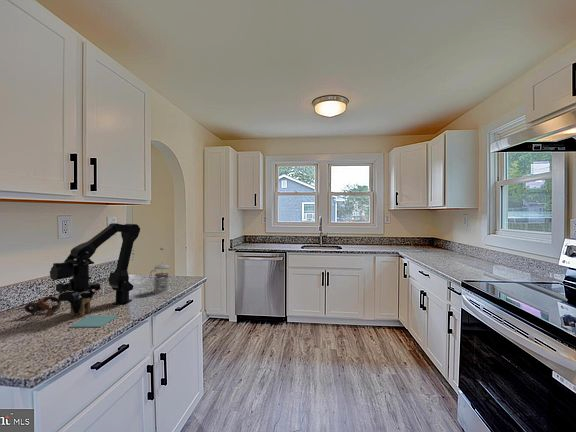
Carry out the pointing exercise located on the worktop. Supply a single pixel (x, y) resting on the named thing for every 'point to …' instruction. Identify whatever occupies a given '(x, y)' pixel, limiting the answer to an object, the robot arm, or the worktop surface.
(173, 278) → the worktop surface
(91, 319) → the mat
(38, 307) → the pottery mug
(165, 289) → the french press
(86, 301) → the brown u-shaped block
